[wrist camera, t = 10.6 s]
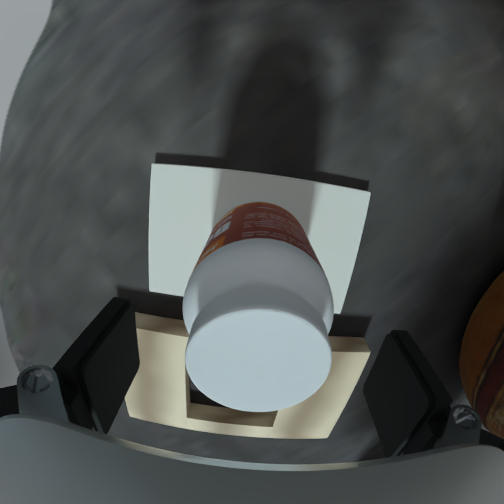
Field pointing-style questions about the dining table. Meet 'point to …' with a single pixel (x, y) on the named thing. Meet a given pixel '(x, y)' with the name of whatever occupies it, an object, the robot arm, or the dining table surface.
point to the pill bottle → (258, 312)
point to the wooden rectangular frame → (227, 419)
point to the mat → (239, 192)
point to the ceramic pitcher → (486, 358)
